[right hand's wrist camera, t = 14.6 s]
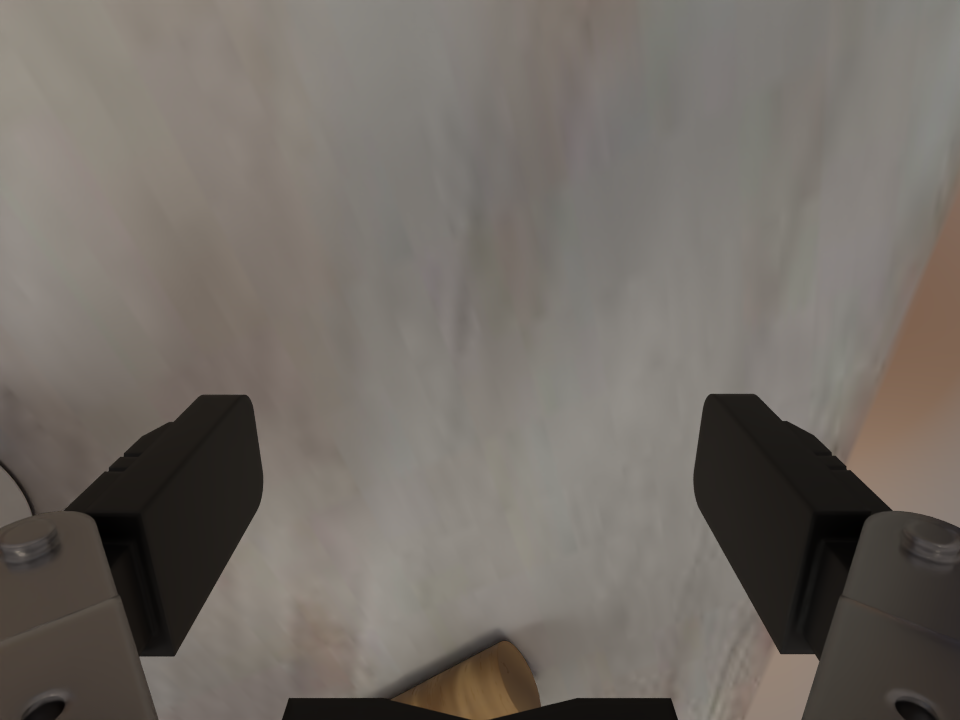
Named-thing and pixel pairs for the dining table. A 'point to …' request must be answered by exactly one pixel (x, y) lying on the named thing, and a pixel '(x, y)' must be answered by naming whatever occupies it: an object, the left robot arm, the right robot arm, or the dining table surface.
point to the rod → (479, 686)
